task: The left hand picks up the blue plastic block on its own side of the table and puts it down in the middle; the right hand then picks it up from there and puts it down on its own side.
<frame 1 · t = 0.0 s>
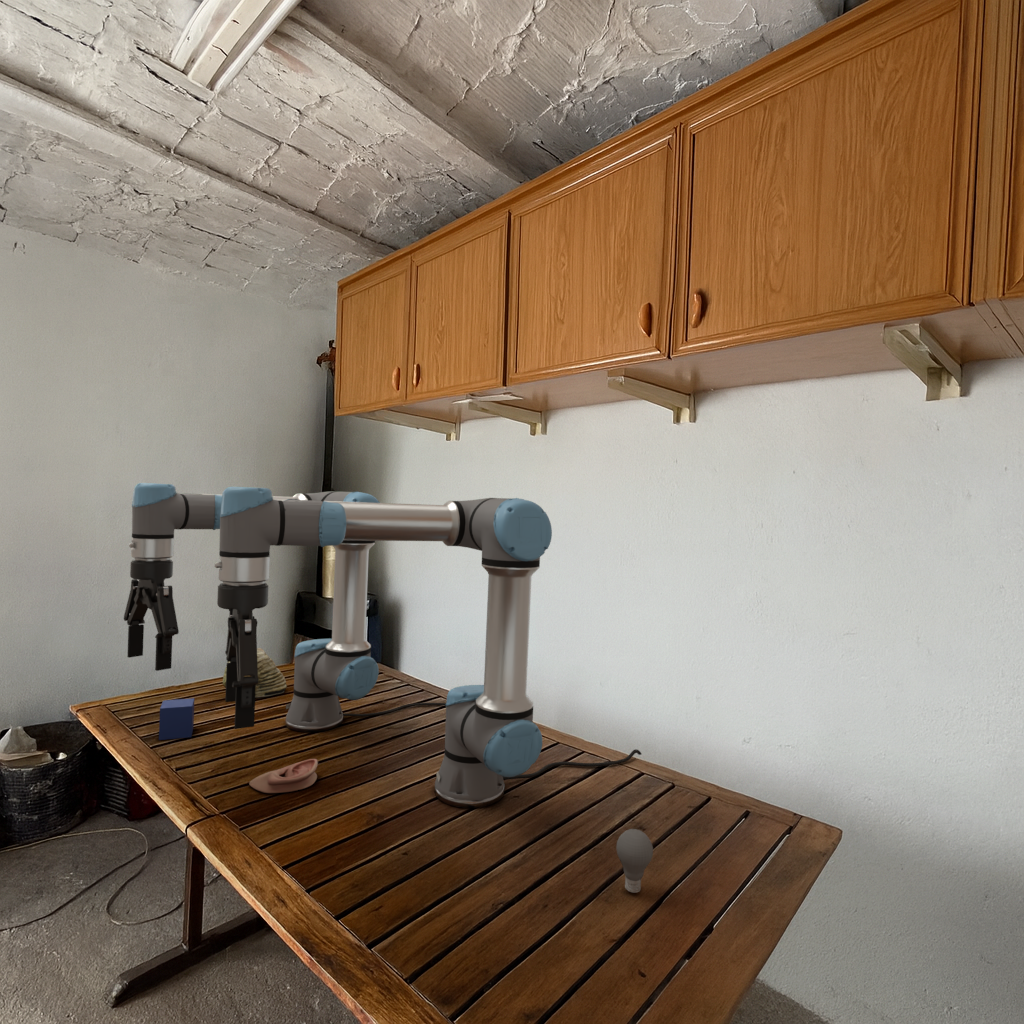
left hand: (148, 662, 129), 28 cm above the table, tool pointing down, fingers open, 13 cm apart
right hand: (238, 713, 102), 28 cm above the table, tool pointing down, fingers open, 13 cm apart
anatomical model: (283, 783, 139), on the table
block: (176, 734, 164), on the table
light bulb: (632, 891, 106), on the table
fossil: (254, 694, 198), on the table
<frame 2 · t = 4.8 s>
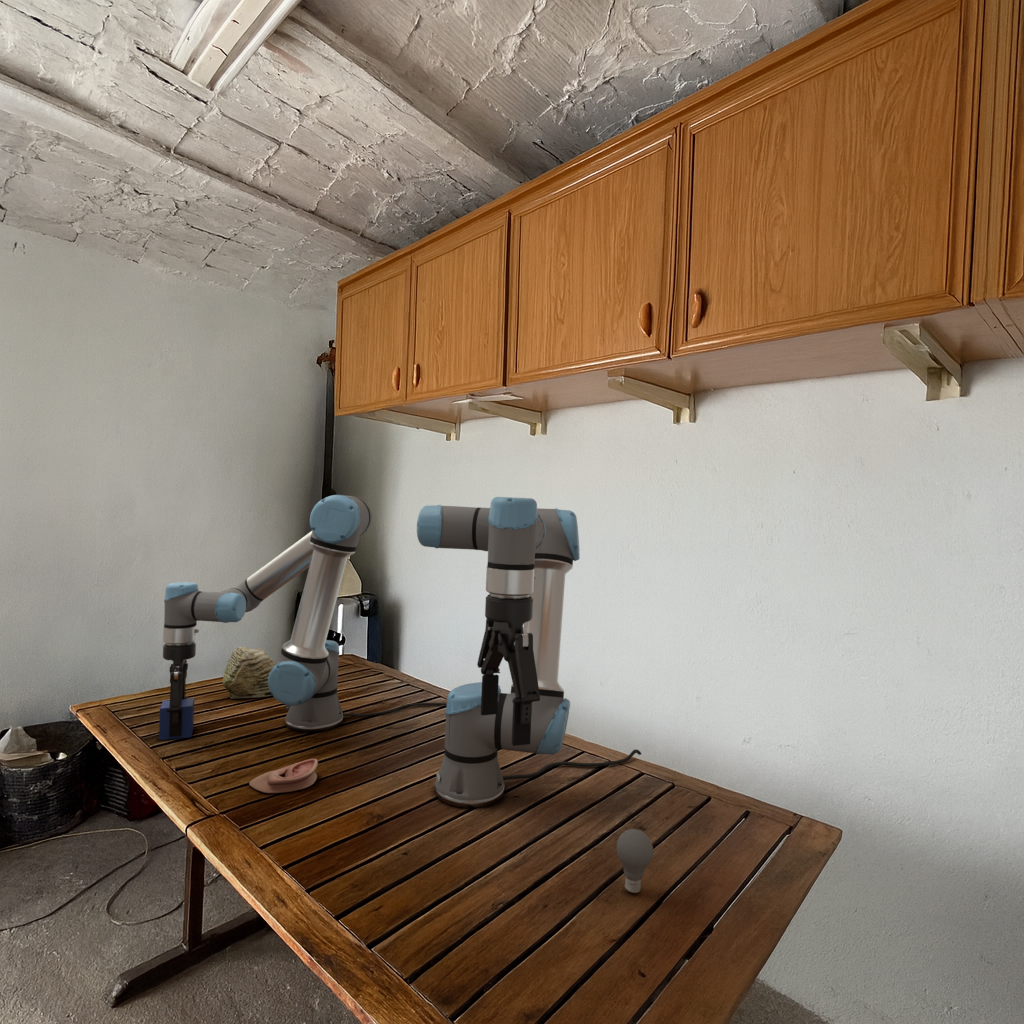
left hand: (176, 730, 164), 1 cm above the table, tool pointing down, fingers closed on block, 7 cm apart
right hand: (503, 728, 100), 28 cm above the table, tool pointing down, fingers open, 13 cm apart
block: (176, 734, 164), on the table, touching left hand
everything else where it was.
when the left hand's fingers open (3 cm above the table, at t = 15.1 s): block drops 2 cm, on the table.
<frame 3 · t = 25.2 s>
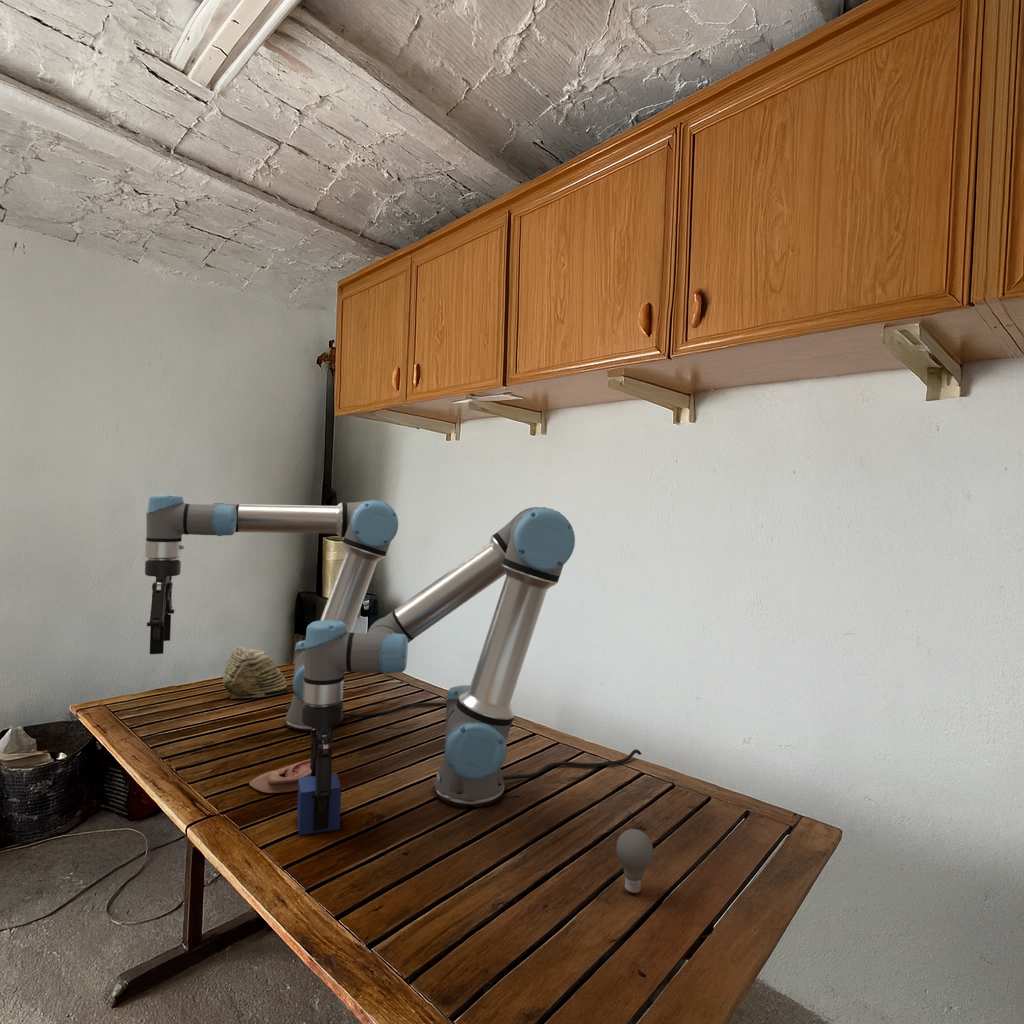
left hand: (160, 647, 152), 25 cm above the table, tool pointing down, fingers open, 13 cm apart
right hand: (318, 819, 123), 1 cm above the table, tool pointing down, fingers closed on block, 7 cm apart
block: (317, 823, 123), on the table, touching right hand
everything else where it was.
when the right hand's fingers open (3 cm above the table, at t = 35.4 s): block drops 2 cm, on the table.
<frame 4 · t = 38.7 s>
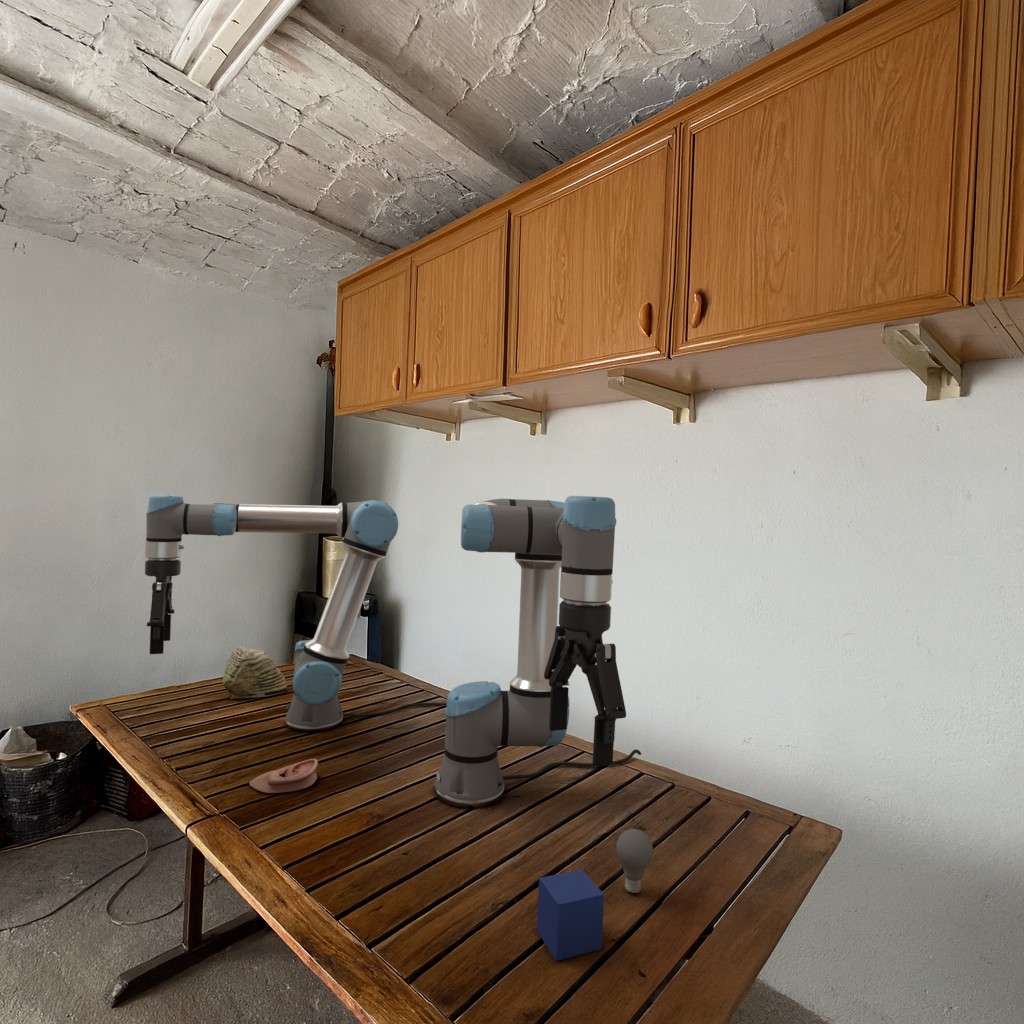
left hand: (160, 647, 152), 25 cm above the table, tool pointing down, fingers open, 13 cm apart
right hand: (578, 746, 93), 29 cm above the table, tool pointing down, fingers open, 13 cm apart
block: (568, 939, 93), on the table
everything else where it was.
at the end: block inside the target area (0.2 cm from its centre), on the table; block tilted 0°; the two hands never held the block at the same time; the left hand is holding nothing; the right hand is holding nothing; block at rest at the end (0.0 cm/s) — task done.
